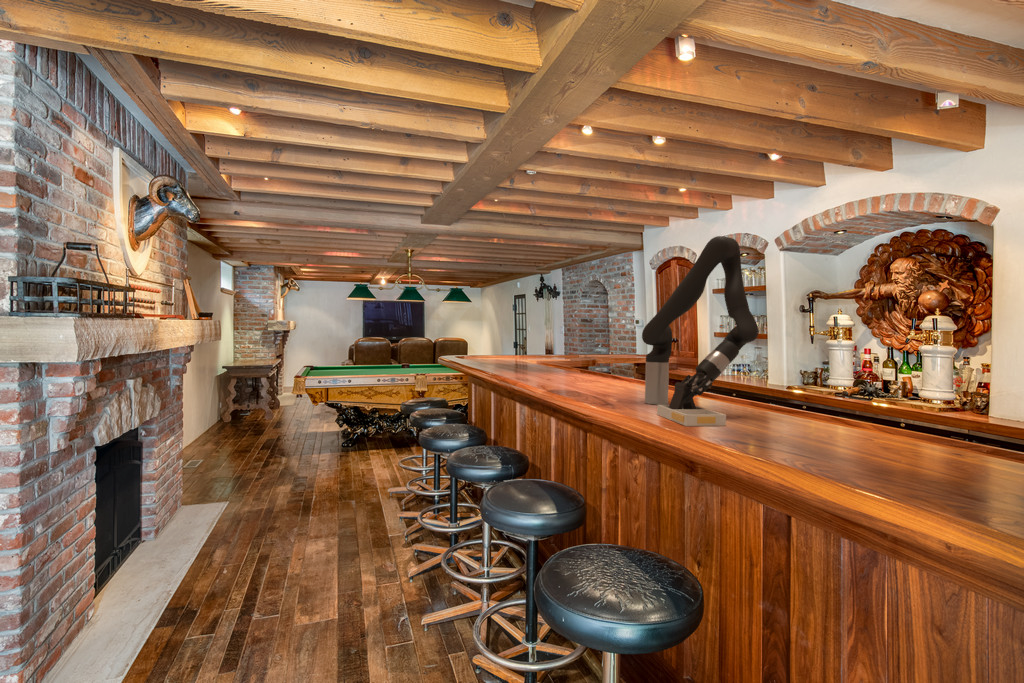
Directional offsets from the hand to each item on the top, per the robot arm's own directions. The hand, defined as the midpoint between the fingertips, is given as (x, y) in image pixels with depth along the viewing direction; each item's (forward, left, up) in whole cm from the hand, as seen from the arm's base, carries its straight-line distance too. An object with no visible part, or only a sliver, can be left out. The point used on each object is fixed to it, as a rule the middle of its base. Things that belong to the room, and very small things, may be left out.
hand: (680, 399), depth 169 cm
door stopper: (0, +1, -6) cm, 6 cm away
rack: (+5, +1, -6) cm, 8 cm away
